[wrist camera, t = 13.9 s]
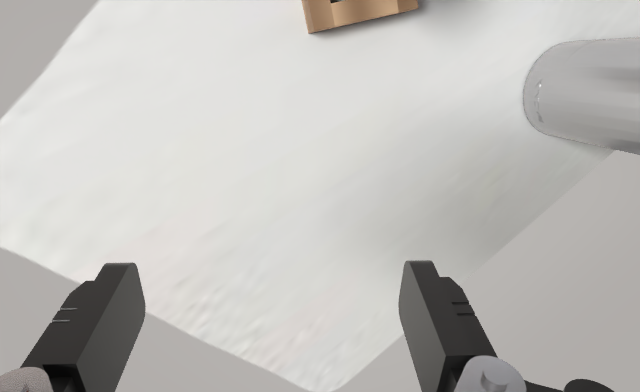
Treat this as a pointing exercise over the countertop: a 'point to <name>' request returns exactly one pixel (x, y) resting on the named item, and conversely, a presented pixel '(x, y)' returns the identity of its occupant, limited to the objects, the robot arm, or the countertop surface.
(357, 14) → the collar block
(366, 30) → the countertop surface
